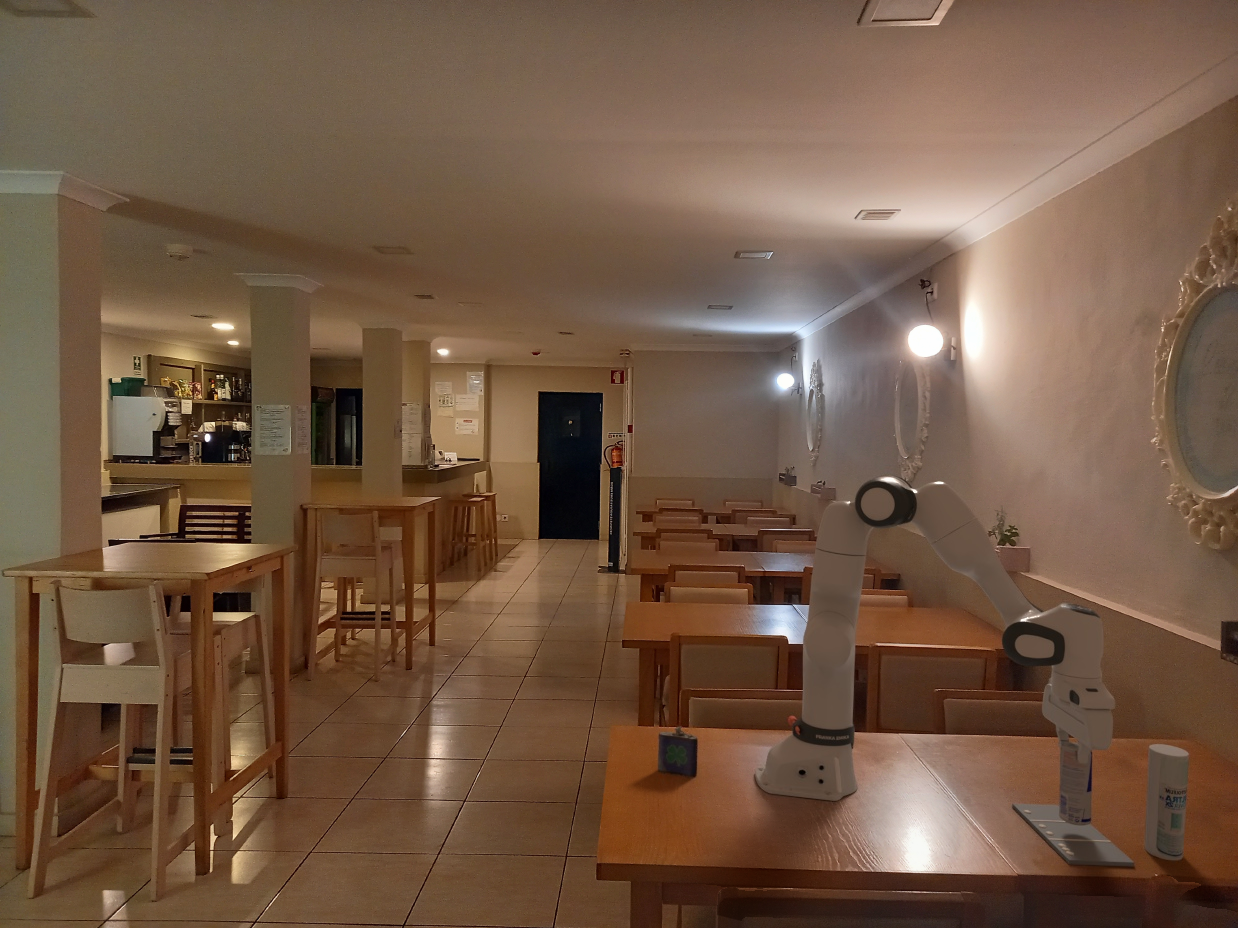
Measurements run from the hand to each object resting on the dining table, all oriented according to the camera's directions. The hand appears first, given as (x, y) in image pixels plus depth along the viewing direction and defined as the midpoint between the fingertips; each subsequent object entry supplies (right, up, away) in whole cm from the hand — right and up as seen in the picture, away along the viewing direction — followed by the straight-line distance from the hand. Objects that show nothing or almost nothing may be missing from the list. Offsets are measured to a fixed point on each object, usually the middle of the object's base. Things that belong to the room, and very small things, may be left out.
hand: (1072, 755), depth 170 cm
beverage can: (0, -13, -1) cm, 13 cm away
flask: (-77, -13, +26) cm, 82 cm away
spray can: (+14, -17, -6) cm, 23 cm away
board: (0, -16, +1) cm, 16 cm away
